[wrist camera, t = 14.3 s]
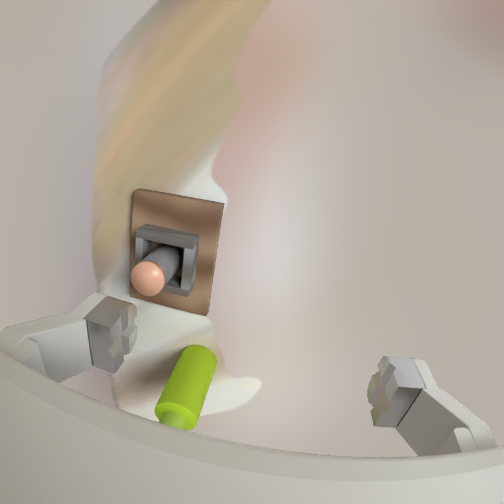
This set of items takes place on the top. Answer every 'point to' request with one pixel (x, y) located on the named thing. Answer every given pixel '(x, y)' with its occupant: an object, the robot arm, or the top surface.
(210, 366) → the soap dispenser
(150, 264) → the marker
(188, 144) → the top surface
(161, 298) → the wooden socket board
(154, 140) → the top surface
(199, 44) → the top surface
